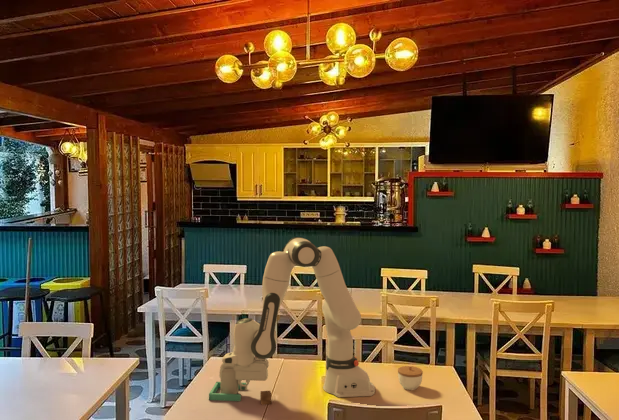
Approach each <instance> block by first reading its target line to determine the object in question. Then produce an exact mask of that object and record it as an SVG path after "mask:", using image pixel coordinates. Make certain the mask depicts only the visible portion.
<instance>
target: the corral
mask: <svg viewBox="0 0 619 420" xmlns="http://www.w3.org/2000/svg"><path fill="white" fill-rule="evenodd" d="M241 383H242V384H243V385H246V384H247V383H246V382H241ZM218 389H221V381H216V382H215V384H214V385H213V387H212V388H211V390H210V392H209V393H208V401H227V402H241V401H242V400H241V399H242V395H241V393H240V394H239V393H237V394H222V393H221V392H219V393H218ZM238 390H240V385H239V384H238Z"/></svg>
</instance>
